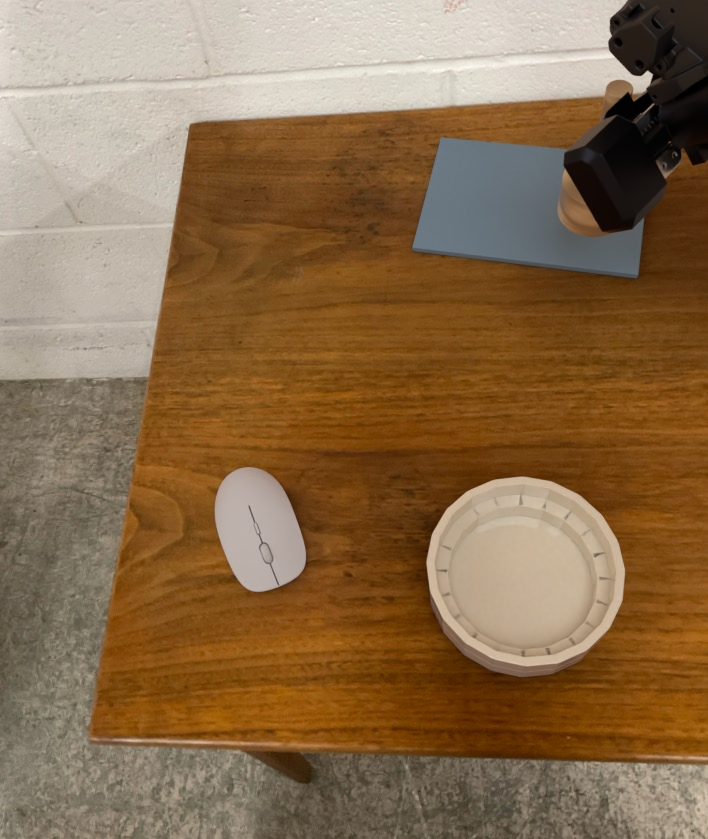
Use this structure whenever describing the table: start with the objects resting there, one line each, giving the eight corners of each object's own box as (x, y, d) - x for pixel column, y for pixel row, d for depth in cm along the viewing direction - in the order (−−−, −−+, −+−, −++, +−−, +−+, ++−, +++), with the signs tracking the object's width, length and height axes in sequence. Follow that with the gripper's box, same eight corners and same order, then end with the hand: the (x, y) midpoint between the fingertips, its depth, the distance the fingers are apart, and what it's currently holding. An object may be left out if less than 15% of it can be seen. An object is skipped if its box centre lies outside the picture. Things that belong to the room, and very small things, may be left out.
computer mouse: (244, 604, 60) (235, 594, 57) (208, 492, 65) (198, 477, 62) (318, 574, 61) (312, 563, 58) (277, 465, 65) (270, 449, 63)
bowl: (620, 517, 60) (632, 495, 56) (602, 697, 55) (614, 686, 51) (446, 486, 63) (446, 462, 59) (412, 654, 57) (409, 640, 53)
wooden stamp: (642, 219, 64) (680, 97, 54) (582, 247, 64) (608, 129, 53) (602, 174, 67) (630, 50, 56) (544, 201, 66) (561, 80, 56)
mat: (649, 161, 76) (650, 156, 75) (637, 279, 70) (638, 274, 69) (440, 141, 80) (440, 137, 79) (412, 251, 74) (412, 247, 73)
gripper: (813, -139, 46) (615, -25, 60) (617, 39, 41) (451, 119, 55) (883, 37, 49) (681, 105, 64) (712, 220, 44) (533, 251, 58)
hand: (591, 140), depth 60 cm, fingers closed on wooden stamp
